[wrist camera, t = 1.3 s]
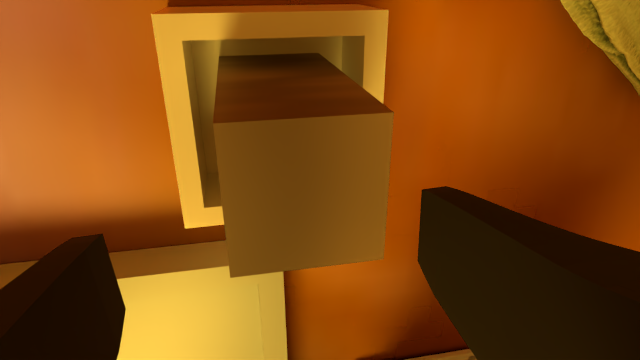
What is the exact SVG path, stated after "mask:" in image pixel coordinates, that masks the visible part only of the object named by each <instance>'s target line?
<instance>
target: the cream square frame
mask: <svg viewBox="0 0 640 360" xmlns="http://www.w3.org/2000/svg"><path fill="white" fill-rule="evenodd" d="M109 256H110V260H111V263H112V266H113V269H114V272H115V276H116V279H117V282H118V285H119V288H120V292H121V295H122V298H123V301H124V304H125V308H126V311H125V318H124V325H123V332H122V338H121V343H120V349H119V354H118V357H117V360H288V358H287V337H286V317H285V297H284V276H283V272H275V273H267V274H259V275H251V276H242V277H234V278H230V272H229V263H228V254H227V245H226V240H223V241H214V242H205V243H195V244H186V245H177V246H167V247H158V248H149V249H139V250H130V251H121V252H111V253H109ZM38 261H39V260H37V261H28V262H18V263H9V264H0V289H1V288H3V287H4V286H5V285H7V284H8V283H9V282H11V281H12V280H13V279H15V278H16V277H17V276H19V275H20V274H21V273H23V272H24V271H25V270H27V269H28V268H29V267H31V266H32V265H34V264H35V263H36V262H38Z"/></svg>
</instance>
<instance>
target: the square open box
mask: <svg viewBox="0 0 640 360" xmlns="http://www.w3.org/2000/svg"><path fill="white" fill-rule="evenodd" d="M388 14H389V10H387V9H381V8H376V7H370V6H365V5H360V4H320V5H254V6H188V7H165V8H163V9H161V10H159V11H157V12H155V13H152V14H151V17H152V23H153V30H154V36H155V43H156V49H157V55H158V62H159V68H160V74H161V81H162V87H163V93H164V100H165V106H166V112H167V119H168V125H169V131H170V138H171V144H172V150H173V157H174V163H175V169H176V176H177V182H178V188H179V195H180V201H181V207H182V214H183V220H184V226H185V229H186V228H196V227H206V226H215V225H224V219H223V210H222V201H221V192H220V183H219V174H218V165H217V157H216V148H215V139H214V130H213V116H214V105H215V94H216V83H217V72H218V61H219V56H239V55H268V54H296V53H319V54H320V55H322V56H323V57H324V58H326V59H327V60H328V61H329V62H331V63H332V64H333V65H334V66H336V67H337V68H338V69H339V70H341V71H342V72H343V73H345V74H346V75H347V76H348V77H350V78H351V79H352V80H353V81H355V82H356V83H357V84H358V85H360V86H361V87H362V88H363V89H365V90H366V91H367V92H369V93H370V94H371V95H372V96H374V97H375V98H376V99H377V100H379V101H380V102H381V103H382V104H383V100H384V83H385V66H386V49H387V32H388Z"/></svg>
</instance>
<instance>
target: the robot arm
mask: <svg viewBox="0 0 640 360" xmlns="http://www.w3.org/2000/svg"><path fill="white" fill-rule="evenodd" d="M418 262H419V264H420V267H421V269H422V271H423V273H424V275H425V278H426V280H427V282H428V284H429V286H430V288H431V290H432V292H433V294H434V296H435V297H436V299H437V300H438V302H439V303H440V305H441V306H442V308H443V309H444V311H445V313H446V314H447V316H448V317H449V319H450V320H451V322H452V323H453V325H454V326H455V328H456V329H457V331H458V332H459V334H460V335H461V337H462V338H463V339H464V341H465V342H466V344H467V345H468V347H469V348H470V349H465V350H459V351H453V352H447V353H441V354H435V355H429V356H423V357H417V358H411V359H405V360H640V252H638V251H634V250H630V249H627V248H623V247H619V246H616V245H612V244H608V243H605V242H601V241H597V240H594V239H591V238H588V237H584V236H581V235H578V234H575V233H572V232H569V231H566V230H563V229H561V228H558V227H555V226H552V225H549V224H546V223H543V222H541V221H538V220H535V219H533V218H530V217H527V216H525V215H522V214H520V213H517V212H514V211H512V210H509V209H507V208H504V207H502V206H499V205H497V204H494V203H492V202H489V201H487V200H484V199H482V198H479V197H477V196H474V195H471V194H469V193H466V192H463V191H460V190H457V189H454V188H450V187H446V186H445V187H438V188H430V189H423V190H422V197H421V214H420V231H419V248H418ZM125 311H126V308H125V304H124V301H123V298H122V295H121V292H120V288H119V285H118V282H117V279H116V276H115V272H114V269H113V266H112V263H111V260H110V256H109V253H108V250H107V247H106V244H105V240H104V237H103V234H97V235H90V236H83V237H76V238H71V239H70V240H68V241H66V242H64V243H63V244H61V245H60V246H58V247H57V248H55V249H54V250H53V251H51V252H50V253H48V254H47V255H46V256H44V257H43V258H42V259H40V260H39V261H38V262H36V263H35V264H34V265H32V266H31V267H29V268H28V269H27V270H25V271H24V272H23V273H21V274H20V275H19V276H17V277H16V278H15V279H13V280H12V281H11V282H9V283H8V284H7V285H5V286H4V287H3V288H1V289H0V360H117V357H118V354H119V349H120V343H121V338H122V332H123V325H124V318H125Z"/></svg>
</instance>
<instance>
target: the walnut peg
mask: <svg viewBox="0 0 640 360" xmlns="http://www.w3.org/2000/svg"><path fill="white" fill-rule="evenodd" d="M393 116H394V112H393V111H391V110H390V109H389V108H387V107H386V106H385V105H384V104H382V103H381V102H380V101H379V100H377V99H376V98H375V97H374V96H372V95H371V94H370V93H369V92H367V91H366V90H365V89H363V88H362V87H361V86H360V85H358V84H357V83H356V82H355V81H353V80H352V79H351V78H350V77H348V76H347V75H346V74H345V73H343V72H342V71H341V70H339V69H338V68H337V67H336V66H334V65H333V64H332V63H331V62H329V61H328V60H327V59H326V58H324V57H323V56H322V55H320V54H319V53H296V54H268V55H239V56H219V61H218V72H217V83H216V94H215V105H214V116H213V130H214V139H215V148H216V157H217V165H218V174H219V183H220V192H221V201H222V210H223V219H224V227H225V236H226V245H227V254H228V263H229V272H230V278H234V277H242V276H251V275H259V274H267V273H275V272H283V271H291V270H300V269H308V268H316V267H324V266H332V265H340V264H349V263H357V262H365V261H373V260H381V259H384V247H385V232H386V218H387V203H388V189H389V174H390V160H391V145H392V131H393Z"/></svg>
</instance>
